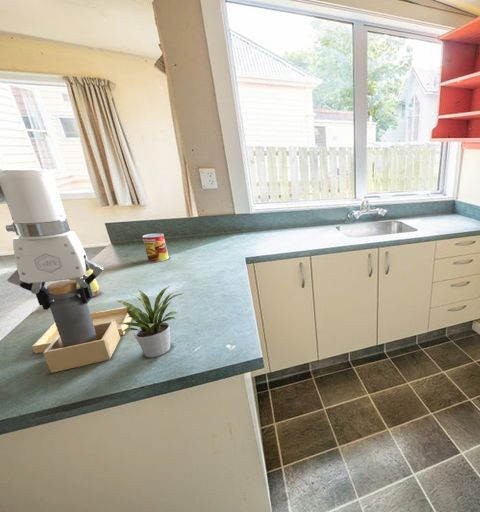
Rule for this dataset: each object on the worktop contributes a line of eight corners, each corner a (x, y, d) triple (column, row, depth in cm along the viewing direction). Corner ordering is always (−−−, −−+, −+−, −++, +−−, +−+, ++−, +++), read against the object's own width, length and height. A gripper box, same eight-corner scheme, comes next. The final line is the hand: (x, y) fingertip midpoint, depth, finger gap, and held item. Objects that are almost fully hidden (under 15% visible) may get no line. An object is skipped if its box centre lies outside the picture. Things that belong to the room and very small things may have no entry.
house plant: (198, 328, 85) (186, 275, 80) (195, 355, 73) (181, 295, 68) (135, 341, 79) (119, 285, 73) (121, 373, 67) (100, 309, 62)
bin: (51, 373, 67) (42, 352, 65) (68, 348, 75) (62, 330, 74) (110, 359, 72) (103, 340, 70) (120, 338, 80) (115, 320, 78)
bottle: (57, 344, 70) (36, 286, 66) (87, 332, 76) (70, 277, 71) (72, 350, 68) (52, 291, 64) (102, 336, 74) (86, 281, 69)
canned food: (144, 261, 139) (138, 236, 136) (160, 256, 146) (155, 232, 143) (156, 262, 137) (150, 237, 133) (172, 257, 144) (167, 233, 141)
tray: (35, 353, 73) (32, 346, 73) (60, 325, 86) (58, 318, 85) (123, 335, 81) (121, 328, 81) (135, 311, 94) (133, 305, 93)
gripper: (-30, 236, 56) (5, 319, 62) (91, 229, 64) (112, 303, 70) (-6, 228, 62) (23, 304, 68) (102, 222, 71) (120, 291, 76)
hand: (68, 303), depth 69 cm, fingers closed on bottle, 5 cm apart
